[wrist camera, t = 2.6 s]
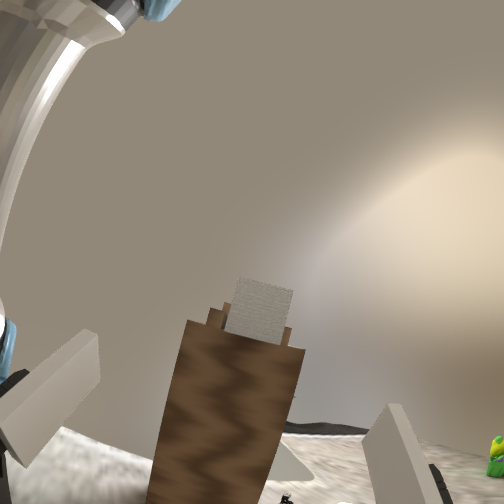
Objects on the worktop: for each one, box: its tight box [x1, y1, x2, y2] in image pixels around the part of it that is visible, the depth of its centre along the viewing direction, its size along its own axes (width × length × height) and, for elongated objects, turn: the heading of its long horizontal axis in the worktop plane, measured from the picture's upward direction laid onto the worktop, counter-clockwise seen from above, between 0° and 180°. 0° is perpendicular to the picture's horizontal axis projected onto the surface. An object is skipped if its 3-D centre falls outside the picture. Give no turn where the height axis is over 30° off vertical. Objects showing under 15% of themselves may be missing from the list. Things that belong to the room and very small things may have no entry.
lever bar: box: [224, 277, 293, 345], centre depth 29 cm, size 4×25×4 cm, turn 2°
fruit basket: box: [486, 436, 504, 477], centre depth 34 cm, size 11×9×11 cm
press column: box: [145, 302, 305, 504], centre depth 31 cm, size 12×16×34 cm
